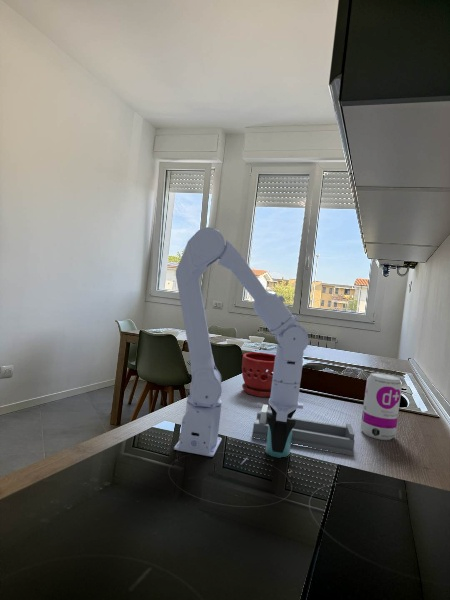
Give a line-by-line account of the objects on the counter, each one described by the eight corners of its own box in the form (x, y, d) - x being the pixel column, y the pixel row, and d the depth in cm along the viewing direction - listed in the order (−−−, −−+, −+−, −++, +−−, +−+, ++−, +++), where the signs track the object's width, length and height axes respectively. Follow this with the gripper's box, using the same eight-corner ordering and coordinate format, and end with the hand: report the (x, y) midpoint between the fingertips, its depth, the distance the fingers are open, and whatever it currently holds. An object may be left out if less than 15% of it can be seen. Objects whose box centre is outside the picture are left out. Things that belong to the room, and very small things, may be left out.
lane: (353, 456, 90) (355, 437, 90) (251, 438, 94) (253, 420, 94) (347, 438, 101) (349, 421, 101) (256, 422, 105) (258, 406, 104)
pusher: (281, 433, 95) (283, 415, 95) (258, 429, 96) (261, 411, 96) (282, 424, 101) (284, 407, 101) (261, 421, 102) (263, 404, 102)
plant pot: (236, 386, 139) (241, 350, 139) (276, 389, 140) (280, 354, 139) (240, 397, 126) (245, 357, 126) (283, 401, 127) (288, 362, 126)
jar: (289, 459, 84) (293, 425, 84) (264, 455, 85) (268, 421, 85) (290, 450, 90) (294, 417, 89) (266, 445, 90) (270, 413, 90)
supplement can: (399, 442, 102) (408, 381, 101) (365, 438, 102) (373, 377, 101) (387, 430, 110) (395, 374, 109) (356, 427, 110) (363, 370, 109)
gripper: (306, 392, 79) (297, 462, 80) (305, 376, 93) (297, 436, 94) (269, 386, 80) (260, 455, 81) (273, 371, 94) (266, 430, 95)
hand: (278, 444), depth 87 cm, fingers open, 7 cm apart
